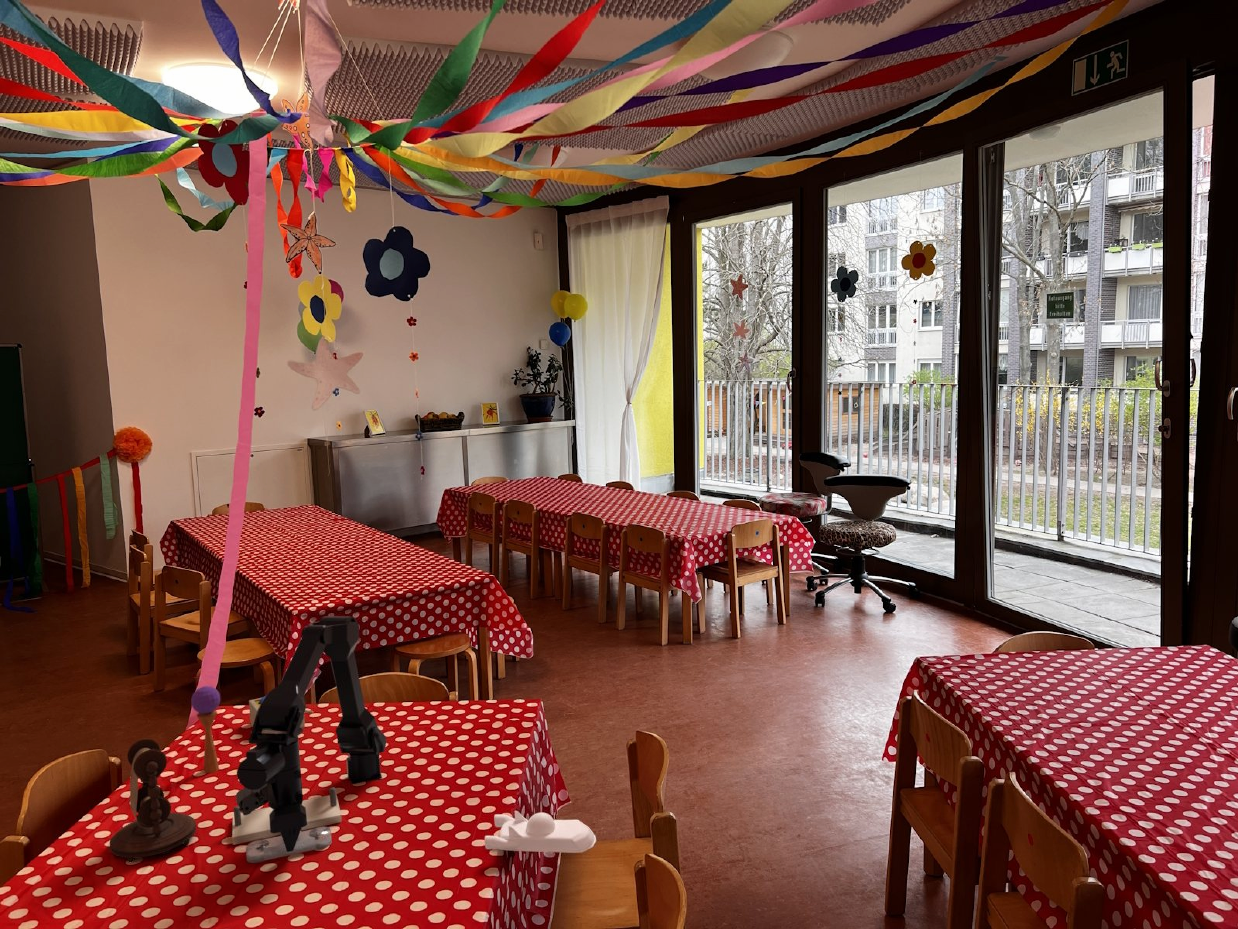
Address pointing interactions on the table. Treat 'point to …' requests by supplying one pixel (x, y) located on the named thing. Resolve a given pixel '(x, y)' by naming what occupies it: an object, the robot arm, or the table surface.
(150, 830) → the dark brown upright piece
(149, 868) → the table surface
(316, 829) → the grey baby rattle
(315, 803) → the peg rack
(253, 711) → the pounding toy
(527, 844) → the plane toy
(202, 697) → the kendama
